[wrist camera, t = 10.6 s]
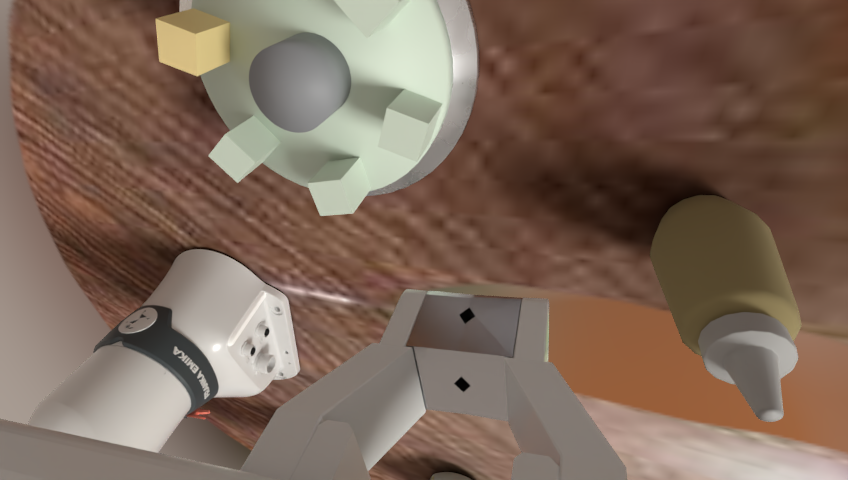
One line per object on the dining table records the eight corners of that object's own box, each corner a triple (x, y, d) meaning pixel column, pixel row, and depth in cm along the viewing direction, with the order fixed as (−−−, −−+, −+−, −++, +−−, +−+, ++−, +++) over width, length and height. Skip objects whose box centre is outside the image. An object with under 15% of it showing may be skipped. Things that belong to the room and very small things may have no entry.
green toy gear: (494, -32, 30) (477, -19, 25) (414, 214, 43) (393, 253, 38) (205, -138, 31) (135, -145, 26) (211, 134, 44) (165, 162, 39)
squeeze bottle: (755, 260, 38) (857, 466, 24) (647, 267, 41) (682, 455, 27) (761, 172, 34) (887, 359, 20) (641, 188, 37) (678, 360, 23)
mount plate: (488, 191, 41) (484, 207, 39) (258, 190, 48) (243, 203, 46) (464, -160, 28) (454, -165, 26) (152, -91, 35) (123, -91, 33)
